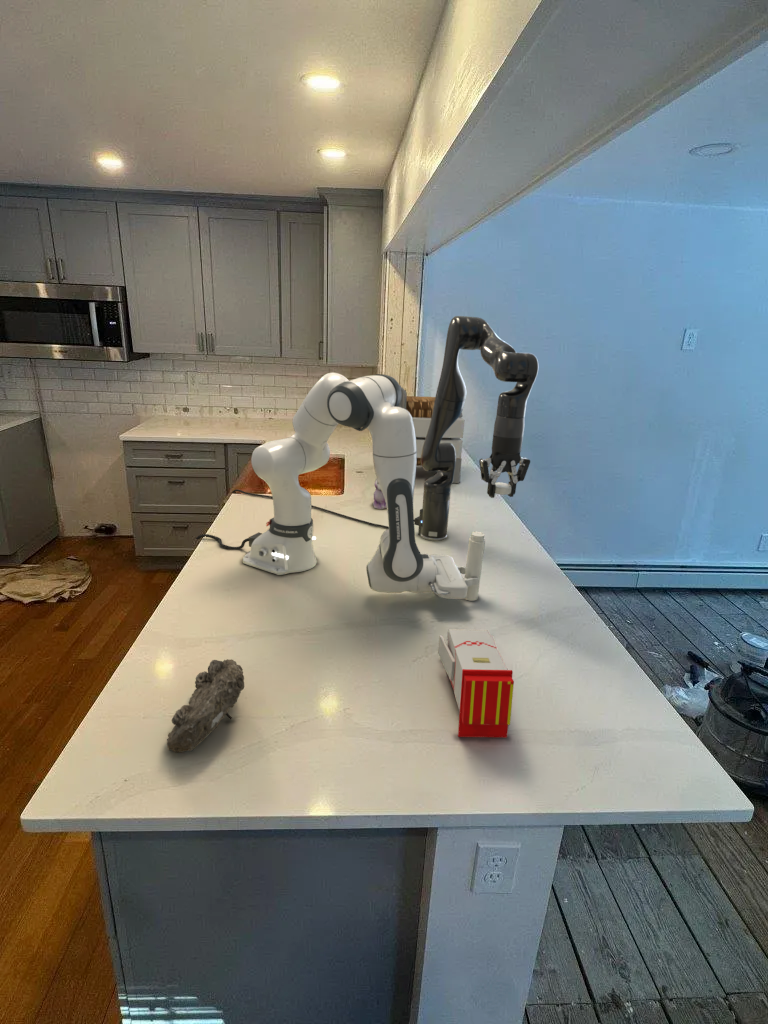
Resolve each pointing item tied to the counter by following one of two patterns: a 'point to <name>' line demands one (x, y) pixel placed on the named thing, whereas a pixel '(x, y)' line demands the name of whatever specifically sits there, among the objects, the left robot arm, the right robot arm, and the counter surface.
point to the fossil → (206, 705)
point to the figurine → (379, 497)
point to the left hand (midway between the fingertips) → (475, 575)
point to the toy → (478, 682)
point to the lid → (502, 488)
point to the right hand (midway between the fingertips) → (500, 496)
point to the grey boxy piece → (421, 420)
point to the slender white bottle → (474, 563)
